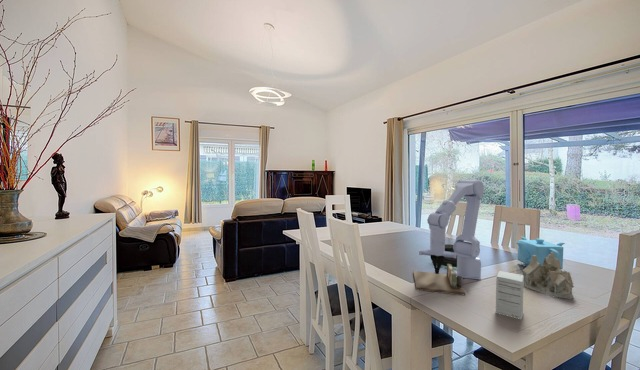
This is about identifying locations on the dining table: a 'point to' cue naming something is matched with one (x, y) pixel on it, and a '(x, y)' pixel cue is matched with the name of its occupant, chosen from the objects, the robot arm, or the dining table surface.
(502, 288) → the supplement box
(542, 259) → the teakettle
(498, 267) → the dining table surface
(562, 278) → the ceramic cottage
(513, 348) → the dining table surface
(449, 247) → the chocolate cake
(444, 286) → the board
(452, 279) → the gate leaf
